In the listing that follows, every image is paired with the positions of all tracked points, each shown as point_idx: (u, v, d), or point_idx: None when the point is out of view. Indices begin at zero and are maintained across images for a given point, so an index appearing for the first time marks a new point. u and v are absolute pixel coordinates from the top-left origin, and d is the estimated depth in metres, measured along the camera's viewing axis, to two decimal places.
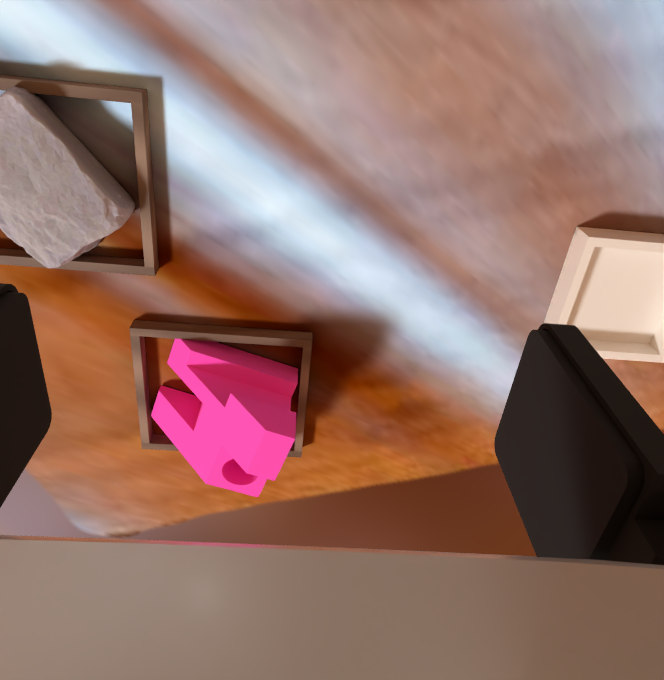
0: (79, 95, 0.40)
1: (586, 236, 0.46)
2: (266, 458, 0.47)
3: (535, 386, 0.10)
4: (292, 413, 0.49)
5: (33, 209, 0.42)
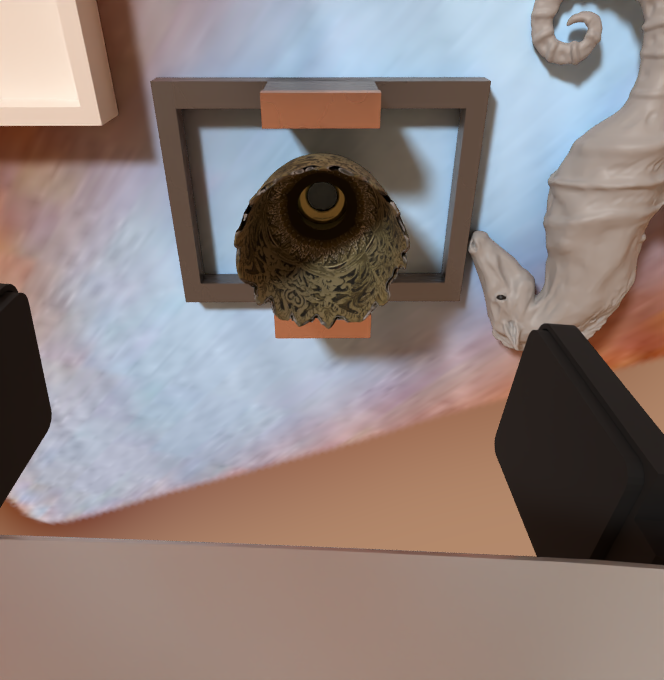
0: None
1: None
2: None
3: (535, 386, 0.10)
4: None
5: None
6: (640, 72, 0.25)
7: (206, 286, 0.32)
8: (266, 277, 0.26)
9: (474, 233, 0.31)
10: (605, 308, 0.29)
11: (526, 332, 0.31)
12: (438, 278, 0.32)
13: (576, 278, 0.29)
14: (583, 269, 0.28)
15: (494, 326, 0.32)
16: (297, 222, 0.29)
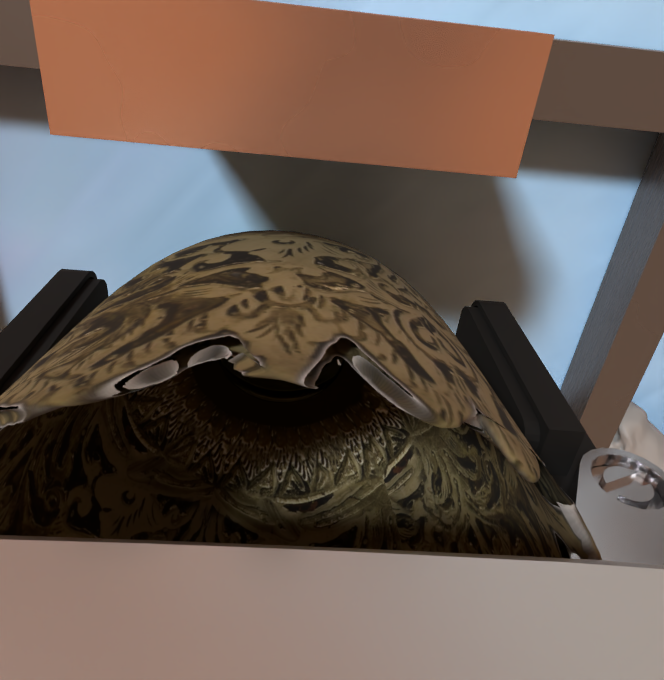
0: None
1: None
2: None
3: None
4: None
5: None
6: None
7: None
8: None
9: None
10: None
11: None
12: None
13: None
14: None
15: None
16: (215, 384, 0.11)
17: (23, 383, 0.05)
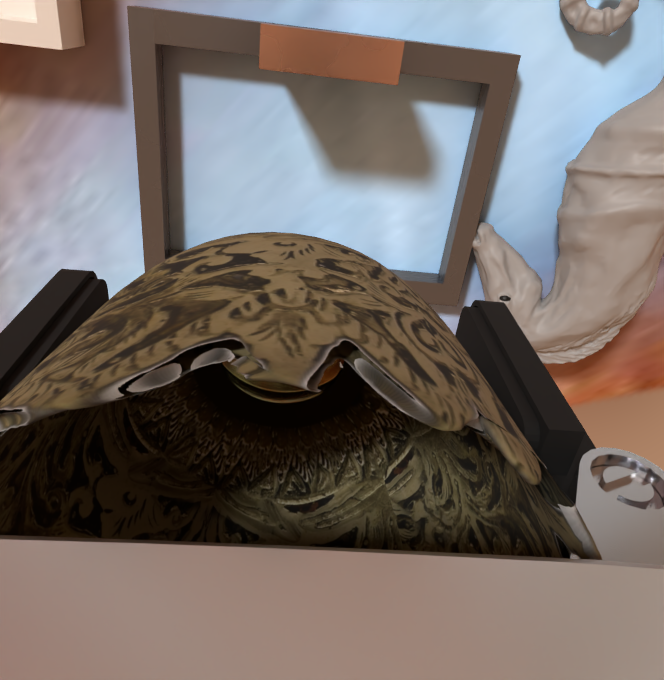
0: None
1: None
2: None
3: None
4: None
5: None
6: None
7: None
8: None
9: (478, 225, 0.27)
10: (621, 316, 0.26)
11: (530, 339, 0.28)
12: (436, 278, 0.29)
13: (592, 279, 0.25)
14: (601, 270, 0.25)
15: None
16: (216, 385, 0.11)
17: (26, 386, 0.05)
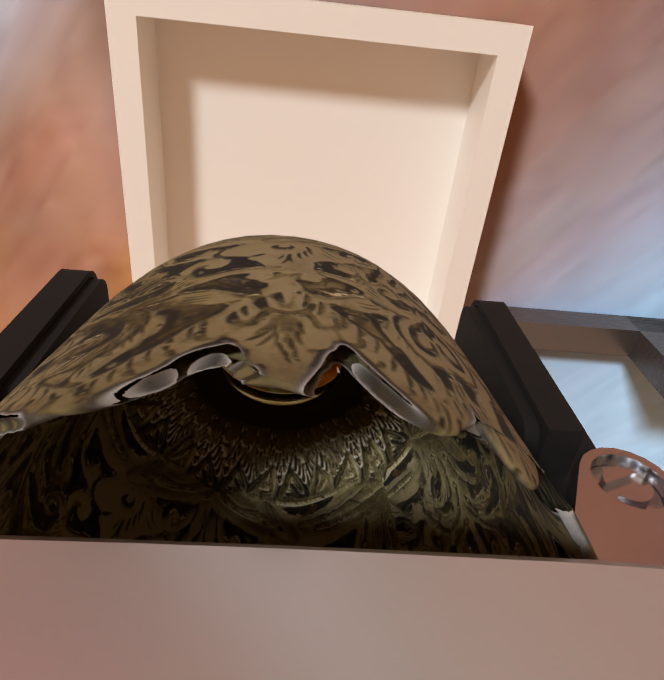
0: None
1: (525, 25, 0.16)
2: None
3: None
4: None
5: None
6: None
7: None
8: None
9: None
10: None
11: None
12: None
13: None
14: None
15: None
16: (214, 387, 0.11)
17: (23, 390, 0.05)
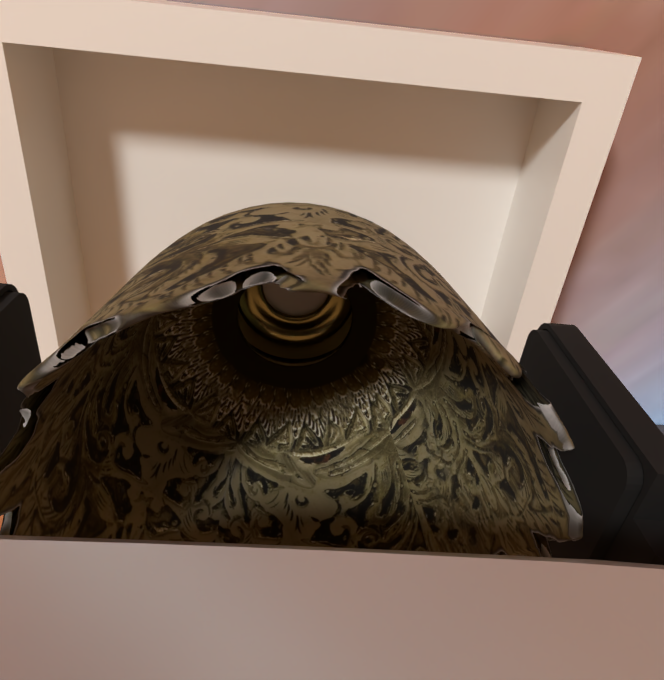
0: None
1: (625, 55, 0.10)
2: None
3: (535, 386, 0.10)
4: None
5: None
6: None
7: None
8: (133, 527, 0.10)
9: None
10: None
11: None
12: None
13: None
14: None
15: None
16: (235, 349, 0.13)
17: (106, 310, 0.06)
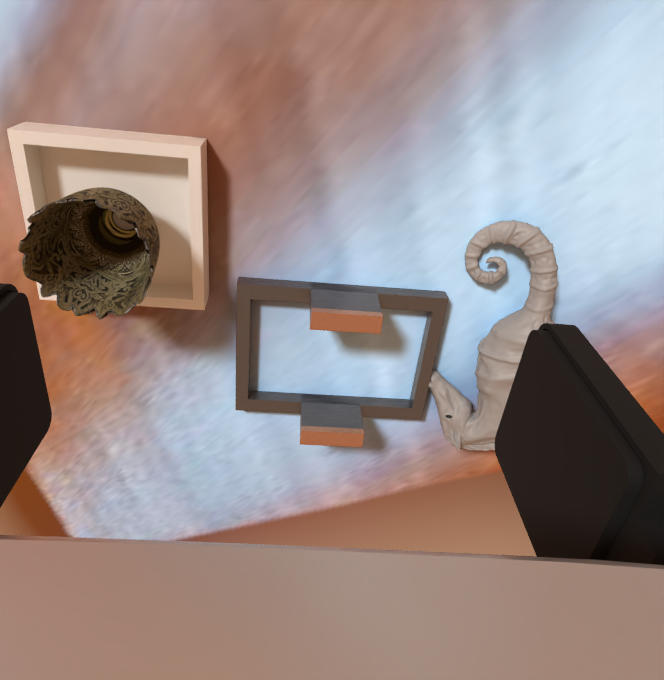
0: None
1: (199, 145, 0.35)
2: None
3: (535, 386, 0.10)
4: None
5: None
6: (529, 293, 0.41)
7: (251, 401, 0.47)
8: (58, 277, 0.35)
9: (431, 374, 0.47)
10: None
11: (465, 439, 0.47)
12: (408, 404, 0.48)
13: (495, 410, 0.44)
14: (499, 405, 0.44)
15: (444, 433, 0.48)
16: (99, 237, 0.38)
17: None
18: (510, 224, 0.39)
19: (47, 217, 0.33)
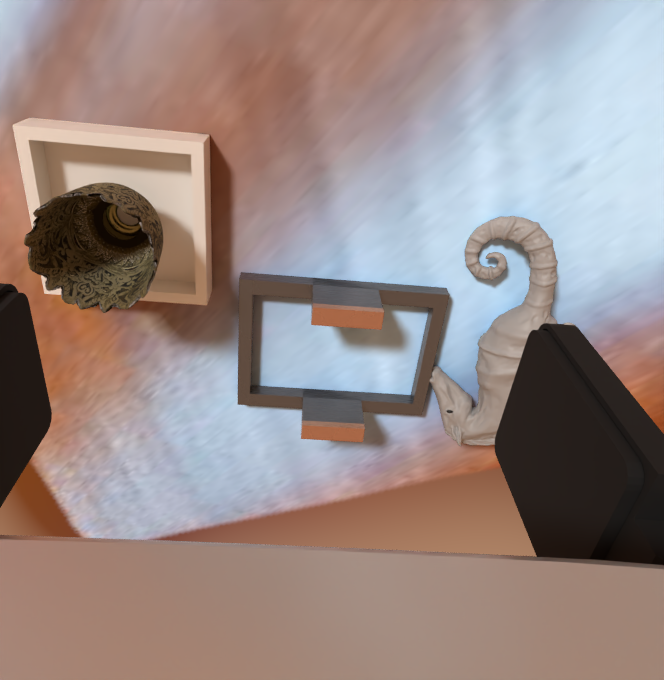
0: None
1: (202, 141, 0.35)
2: None
3: (535, 386, 0.10)
4: None
5: None
6: (529, 289, 0.41)
7: (253, 395, 0.47)
8: (63, 271, 0.35)
9: (432, 369, 0.47)
10: None
11: (466, 434, 0.47)
12: (409, 399, 0.48)
13: (495, 404, 0.45)
14: (499, 400, 0.44)
15: (445, 428, 0.48)
16: (103, 232, 0.38)
17: None
18: (509, 220, 0.40)
19: (52, 211, 0.33)
